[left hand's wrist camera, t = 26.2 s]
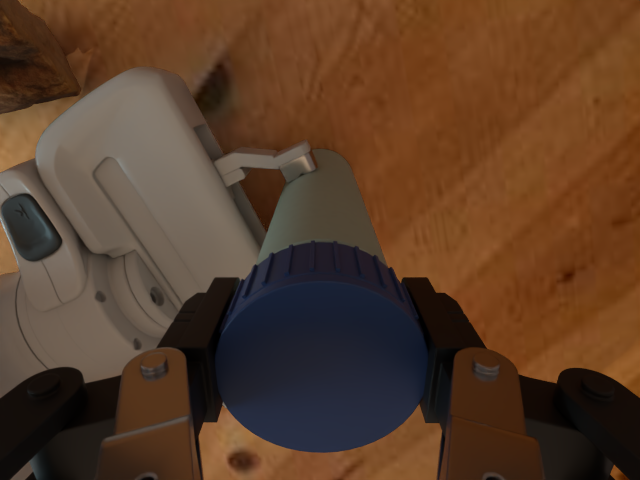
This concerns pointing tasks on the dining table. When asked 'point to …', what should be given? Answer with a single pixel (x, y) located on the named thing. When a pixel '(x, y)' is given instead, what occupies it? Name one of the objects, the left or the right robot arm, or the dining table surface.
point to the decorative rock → (30, 61)
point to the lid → (321, 349)
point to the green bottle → (322, 210)
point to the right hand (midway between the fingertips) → (335, 203)
